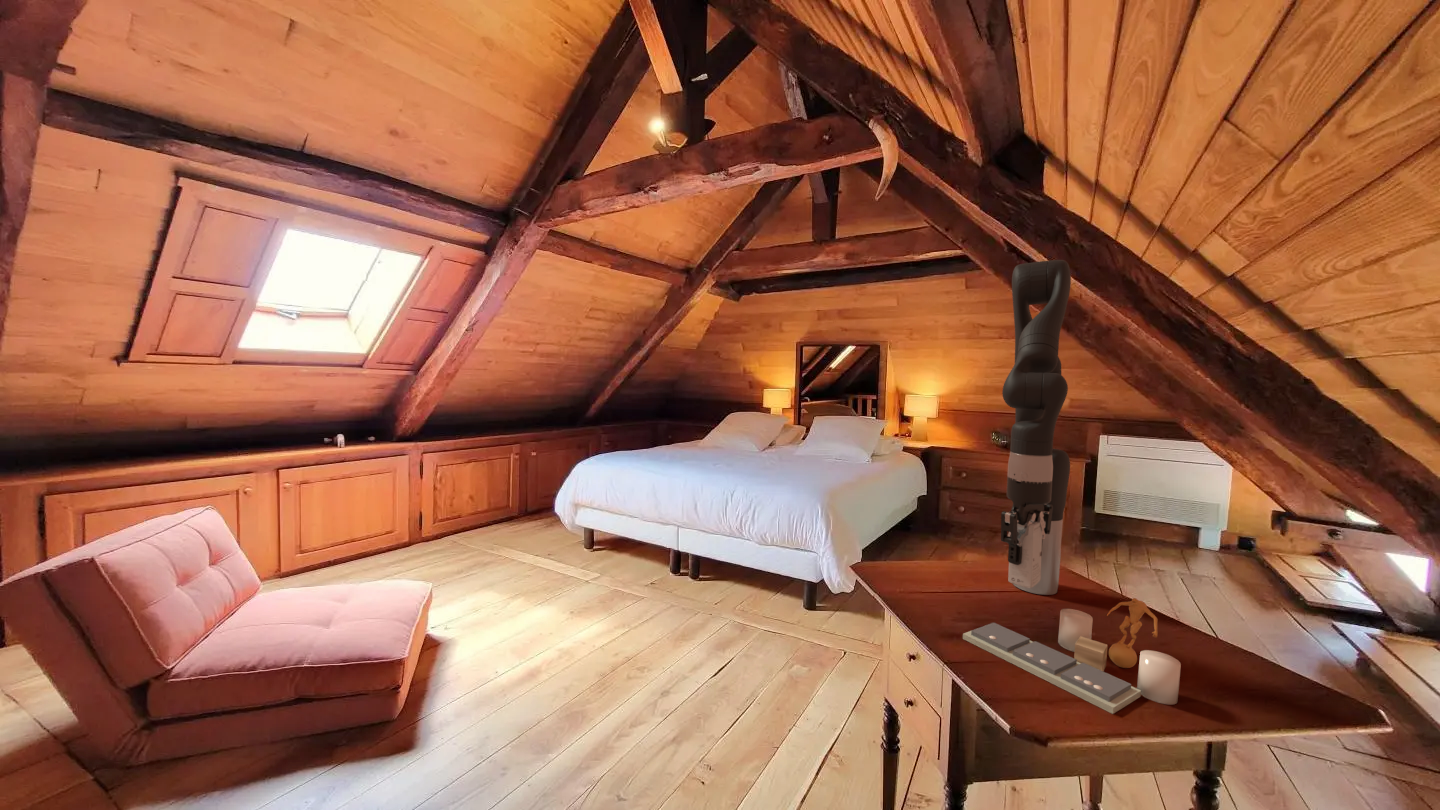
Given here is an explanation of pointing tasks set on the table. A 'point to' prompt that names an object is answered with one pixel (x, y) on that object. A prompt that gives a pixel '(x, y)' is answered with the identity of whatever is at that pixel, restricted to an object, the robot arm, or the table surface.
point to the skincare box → (1028, 558)
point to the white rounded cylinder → (1073, 627)
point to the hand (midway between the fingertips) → (1024, 559)
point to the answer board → (1055, 667)
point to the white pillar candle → (1159, 677)
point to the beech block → (1091, 653)
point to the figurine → (1123, 652)
